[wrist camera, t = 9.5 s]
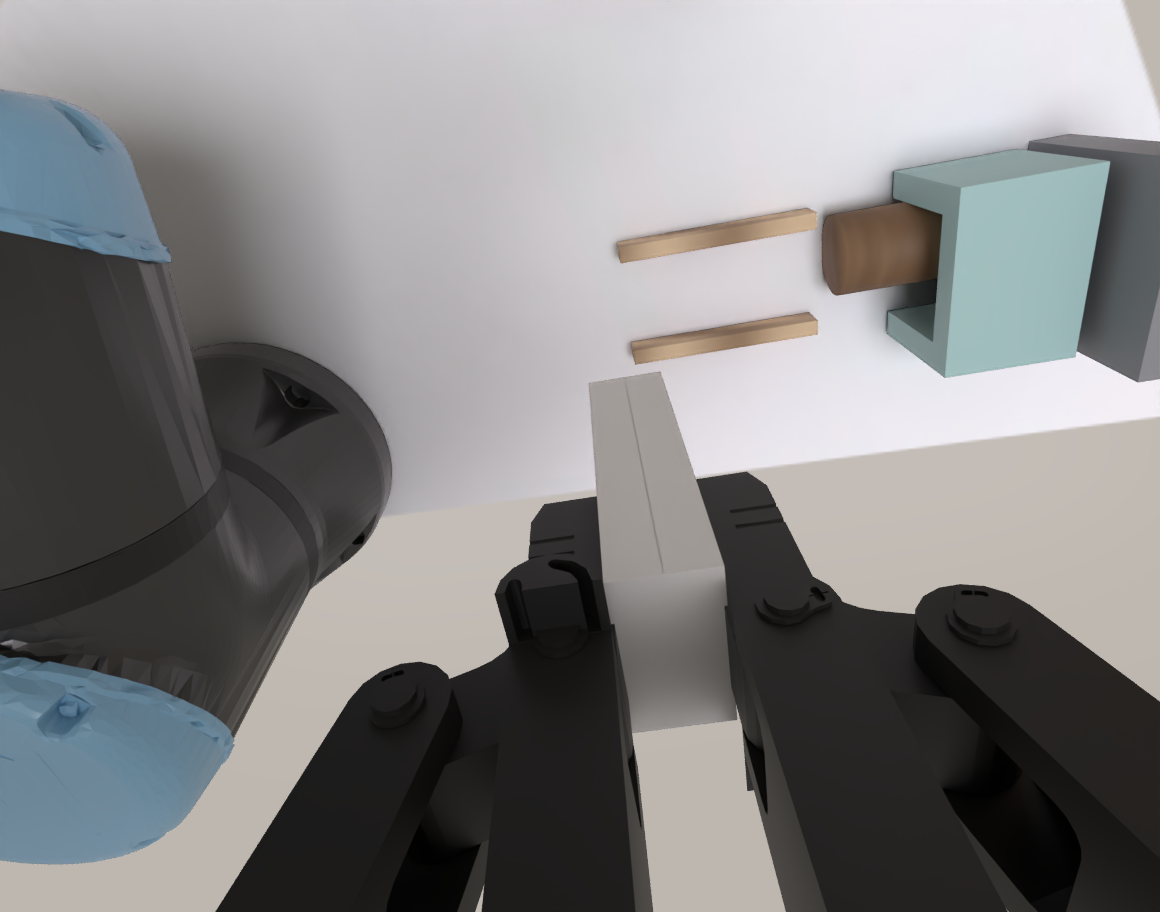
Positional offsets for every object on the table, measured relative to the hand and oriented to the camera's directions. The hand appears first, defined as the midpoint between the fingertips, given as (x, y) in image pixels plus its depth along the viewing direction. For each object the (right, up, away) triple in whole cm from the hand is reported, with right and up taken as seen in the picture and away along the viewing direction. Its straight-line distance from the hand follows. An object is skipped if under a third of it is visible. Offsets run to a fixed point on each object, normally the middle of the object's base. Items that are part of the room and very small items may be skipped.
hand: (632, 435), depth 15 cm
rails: (+6, +9, +23) cm, 25 cm away
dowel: (+16, +10, +22) cm, 29 cm away
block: (+18, +11, +22) cm, 31 cm away
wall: (+23, +11, +22) cm, 34 cm away
